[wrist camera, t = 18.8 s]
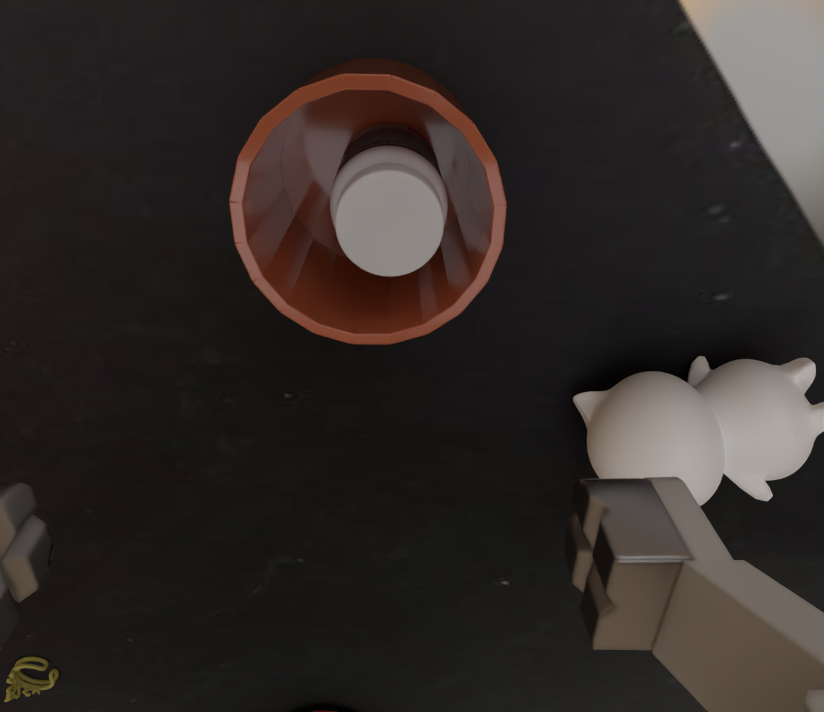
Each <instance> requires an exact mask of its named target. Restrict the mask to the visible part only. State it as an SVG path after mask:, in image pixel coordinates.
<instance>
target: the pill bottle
mask: <svg viewBox="0 0 824 712" xmlns="http://www.w3.org/2000/svg"><path fill="white" fill-rule="evenodd" d="M447 212H448V200H447V193H446V189H445V186H444V182H443V179H442V175H441V172H440V169H439V166H438V162H437V158H436V155H435V153H434V151H433V149H432V147H431V146H430V144H429V143H428V142H427V140H426V139H425V138H424V137H423V136H422V135H421V134H419V133H418V132H417V131H415V130H414V129H412V128H410V127H407V126H405V125H401V124H396V123H382V124H377V125H373V126H370V127H368V128H366V129H365V130H363V131H361V132H360V133H359V134H358V135H356V136H355V137H354V138H353V140H352V141H351V142H350V143H349V145H348V146H347V148H346V150H345V152H344V154H343V157H342V160H341V163H340V166H339V168H338V171H337V174H336V177H335V179H334V182H333V185H332V189H331V195H330V213H331V218H332V222H333V225H334V227H335V230H336V235H337V238H338V241H339V244H340V246H341V248H342V249H343V251H344V253H345V254H346V255H347V257H348V258H349V259H350V260H351V261H352V262H353V263H354V264H356V265H357V266H358V267H360V268H361V269H363V270H365V271H367V272H369V273H372V274H375V275H380V276H390V277H391V276H401V275H405V274H408V273H411V272H413V271H415V270H417V269H419V268H420V267H422V266H423V265H424V264H425V263H427V262H428V261H429V260H430V259H431V257H432V256H433V255H434V254H435V252H436V250H437V249H438V247H439V245H440V242H441V239H442V236H443V230H444V225H445V222H446V218H447Z"/></svg>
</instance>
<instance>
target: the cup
mask: <svg viewBox="0 0 824 712" xmlns="http://www.w3.org/2000/svg"><path fill="white" fill-rule="evenodd" d="M382 123H396V124H401V125H405V126H407V127H410V128H412V129H414V130H415V131H417V132H418V133H419V134H421V135H422V136H423V137H424V138H425V139H426V140H427V142H428V143H429V144H430V146H431V147H432V149H433V151H434V153H435V155H436V158H437V162H438V166H439V169H440V172H441V175H442V179H443V182H444V186H445V189H446V193H447V200H448V212H447V218H446V222H445V225H444V230H443V236H442V239H441V242H440V245H439V247H438V249H437V250H436V252H435V254H434V255H433V256H432V257H431V259H430V260H429V261H428V262H427V263H425V264H424V265H423V266H422V267H420V268H419V269H417V270H415V271H413V272H411V273H408V274H405V275H401V276H391V277H390V276H380V275H375V274H372V273H369V272H367V271H365V270H363V269H361V268H360V267H358V266H357V265H356V264H354V263H353V262H352V261H351V260H350V259H349V258H348V257H347V255H346V254H345V253H344V251H343V249H342V248H341V246H340V244H339V241H338V238H337V235H336V230H335V227H334V225H333V222H332V218H331V213H330V195H331V189H332V185H333V182H334V179H335V177H336V174H337V171H338V168H339V166H340V163H341V160H342V157H343V154H344V152H345V150H346V148H347V146H348V145H349V143H350V142H351V141H352V140H353V138H354V137H355V136H356V135H358V134H359V133H360V132H361V131H363V130H365V129H366V128H368V127H370V126H373V125H377V124H382ZM506 204H507V202H506V197H505V193H504V188H503V184H502V180H501V175H500V171H499V166H498V163H497V160H496V158H495V157H494V155H493V153H492V152H491V150H490V148H489V147H488V145H487V143H486V142H485V140H484V139H483V137H482V135H481V134H480V132H479V130H478V129H477V127H476V125H475V124H474V122H473V121H472V120H471V118H470V117H469V116H468V114H467V113H466V112H465V110H464V109H463V107H462V106H461V105H460V103H459V102H458V101H457V99H456V98H455V97H454V96H453V94H452V93H450V92H449V91H448V90H447V89H446V88H444V87H443V85H442V84H440V83H439V82H438V81H437V80H435V79H434V78H433V77H431V76H430V75H429V74H428V73H426V72H425V71H422V70H420V69H418V68H416V67H413V66H411V65H408V64H406V63H403V62H399V61H396V60H392V59H382V58H364V59H354V60H351V61H347V62H344V63H341V64H338V65H336V66H333V67H331V68H328V69H325V70H323V71H321V72H320V73H319V74H317V75H316V76H314V77H313V78H312V79H310V80H309V81H307V82H306V83H305V84H303V85H302V86H300V87H299V88H298V89H296V90H295V91H294V92H292V93H291V94H290V95H289V96H287V97H286V98H285V99H284V100H283V101H281V102H280V103H279V104H278V105H276V106H275V107H274V108H273V109H272V110H270V111H269V112H268V113H267V114H265V115H264V116H263V117H262V118H261V119H260V120H259V122H258V124H257V125H256V127H255V129H254V130H253V132H252V134H251V135H250V137H249V139H248V140H247V142H246V144H245V145H244V147H243V149H242V151H241V152H240V154H239V156H238V159H237V162H236V167H235V172H234V177H233V182H232V187H231V192H230V198H229V205H230V213H231V221H232V228H233V236H234V242H235V246H236V248H237V250H238V252H239V254H240V256H241V258H242V261H243V263H244V265H245V267H246V269H247V271H248V273H249V275H250V278H251V280H252V281H253V283H254V284H255V285H256V286H257V287H258V288H259V289H260V291H261V292H262V293H263V294H264V295H265V296H266V297H267V298H268V299H269V301H270V302H271V303H272V304H273V305H274V306H275V307H276V308H277V309H278V311H280V312H281V313H282V314H284V315H285V316H287V317H288V318H290V319H292V320H293V321H295V322H296V323H298V324H300V325H301V326H303V327H305V328H306V329H308V330H309V331H311V332H313V333H315V334H318V335H322V336H325V337H328V338H332V339H335V340H339V341H342V342H346V343H349V344H390V343H391V344H394V343H398V342H401V341H405V340H408V339H412V338H415V337H419V336H423V335H426V334H427V333H428V334H429V333H430V332H432V331H434V330H435V329H437V328H438V327H440V326H442V325H443V324H445V323H446V322H448V321H450V320H451V319H453V318H454V317H456V316H458V315H459V314H460V313H461V312H462V311H463V310H464V309H465V308H466V307H467V306H468V305H469V303H470V302H471V301H472V300H473V299H474V298H475V296H476V295H477V294H478V293H479V292H480V291H481V290H482V288H483V287H484V286H485V285H486V283H487V282H488V280H489V278H490V275H491V273H492V271H493V268H494V266H495V264H496V261H497V259H498V257H499V255H500V252H501V250H502V248H503V241H504V231H505V221H506V210H507V205H506Z"/></svg>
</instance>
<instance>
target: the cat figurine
mask: <svg viewBox="0 0 824 712" xmlns="http://www.w3.org/2000/svg"><path fill="white" fill-rule="evenodd" d="M815 374H816V367H815V364H814V363H813V361H811V360H810V359H808V358H798V359H796V360H793V361H791V362H789V363H786V364H783V365H781V366H779V365H771V364H768V363H765V362H762V361H758V360H752V359H739V360H734V361H731V362H728V363H726V364H724V365H722V366H720V367H718V368H716V369H714V370H711V369H710V367H709V364H708V362H707V360H706V358H705V356H698V357H697V358H696V359H695V360H694V361H693V362H692V363H691V367H690V370H689V374H688V381H687V382H685V381H684V380H682V379H680V378H678V377H676V376H674V375H671V374H668V373H664V372H657V371H646V372H640V373H637V374H634V375H631V376H629V377H627V378H625V379H623V380H622V381H620V382H619V383H617V384H616V385H615V386H614V387H612V388H611V389H609V390H607V391H589V392H583V393H580V394H577V395H575V396H574V397H573V402H574V404H575V405H576V407H577V409H578V410H579V412H580V414H581V415H582V417H583V419H584V421H585V424H586V427H587V450H588V455H589V459H590V462H591V464H592V466H593V468H594V470H595V472H596V474H597V475H598V477H599V478H600V479H615V478H642V479H643V478H647V477H678V478H680V479H681V480H683V481H684V483H685V484H686V486H687V487H688V489H689V490H690V492H691V494H692V495H693V497H694V498H695V500H696V501H697V503H698V505H699V506H701V505H703V504H704V503H705V502H707V501H708V500H709V499H710V498H711V497H712V495H713V494H714V493H715V491H716V490H717V488H718V486H719V484H720V482H721V479H722V476H723V473H724V474H725V475H726V476H727V477H729V478H730V479H731V480H732V481H733V482H734V483H735V484H737V485H738V486H739V487H740V488H741V489H742V490H744V491H745V492H747V493H748V494H750V495H751V496H752V497H754V498H755V499H759V500H763V501H768V500H769V499H770V498H771V497H772V496H773V494H772V492H771V490H770V488H769V486H768V485H767V483H766V482H765V480H776V479H781V478H784V477H787V476H789V475H791V474H792V473H794V472H795V471H797V470H798V469H799V468H800V467H801V466H802V465H803V464H804V462H805V461H806V460H807V458H808V456H809V454H810V452H811V450H812V447H813V443H814V441H815V439H816V437H817V435H819V434H820V433H822V432H823V431H824V402H822V403H819V404H816V405H811V404H810V403H809V402H808V401H807V399H806V398H805V396H804V394H805V392H806V391H807V389H808V388H809V386H810V385H811V384H812V382H813V380H814V378H815Z"/></svg>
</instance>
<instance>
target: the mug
mask: <svg viewBox="0 0 824 712" xmlns="http://www.w3.org/2000/svg"><path fill="white" fill-rule="evenodd" d="M310 712H336V711H328V710H318V711H310Z"/></svg>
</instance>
